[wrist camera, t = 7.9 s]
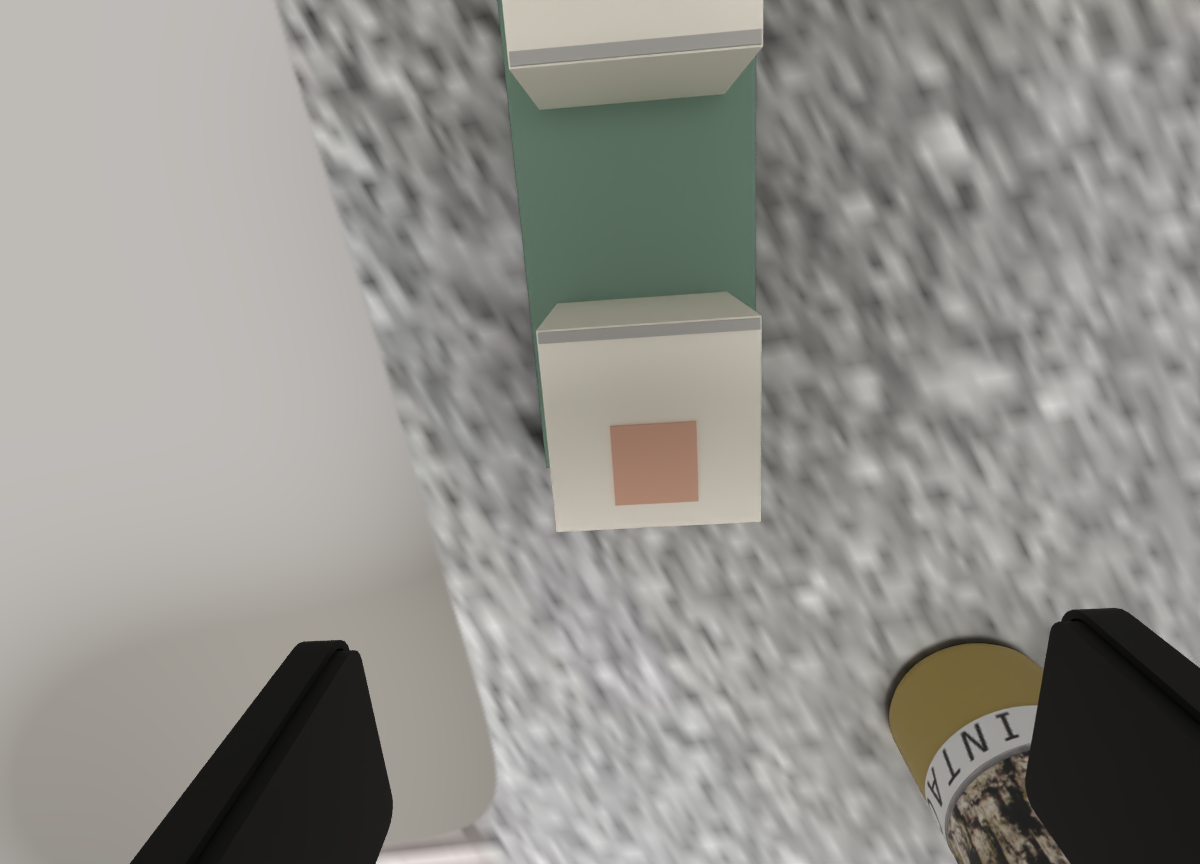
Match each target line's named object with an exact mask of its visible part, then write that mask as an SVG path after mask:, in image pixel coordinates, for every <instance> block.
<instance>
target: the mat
mask: <svg viewBox="0 0 1200 864" xmlns="http://www.w3.org/2000/svg"><path fill="white" fill-rule="evenodd" d="M497 1H498V11H499V20H500V30H501V39H502V49H503V58H504V68H505V78H506V87H507V97H508V106H509V116H510V125H511V135H512V144H513V154H514V163H515V173H516V182H517V192H518V201H519V211H520V221H521V230H522V240H523V249H524V259H525V268H526V278H527V287H528V297H529V306H530V316H531V325H532V335H533V344H534V354H535V363H536V373H537V383H538V392H539V402H540V411H541V421H542V430H543V440H544V449H545V459H546V468H550V462H549V453H548V443H547V433H546V423H545V414H544V404H543V394H542V385H541V375H540V365H539V355H538V346H537V336H536V330H537V329H538V327H539V326H540V325H541V324H542V322H543V321H544V320H545V318H546V317H547V316H548V315H549V313H550V312H551V311H552V309H553V308H554V307H555V306H556V304H557V303H569V302H584V301H598V300H612V299H627V298H641V297H655V296H670V295H684V294H699V293H713V292H728V293H730V294H731V295H733V296H734V297H735V298H737V299H738V300H740V301H741V302H743V303H744V304H746V305H747V306H749V307H750V308H752V309H753V310H754V311H755V266H756V56H755V57H754V58H753V60H752V61H751V62H750V63H749V65H748V66H747V67H746V68H745V69H744V71H743V72H742V73H741V74H740V76H739V77H738V78H737V79H736V81H735V82H734V83H733V84H732V85H731V87H730V88H729V89H728V90H727V92H726V93H725V94H720V95H708V96H696V97H685V98H673V99H662V100H650V101H638V102H627V103H615V104H603V105H592V106H580V107H568V108H557V109H545V110H539V109H538V107H537V106H536V105H535V103H534V102H533V101H532V99H531V98H530V97H529V95H528V94H527V93H526V91H525V90H524V89H523V87H522V86H521V85H520V83H519V82H518V81H517V79H516V78H515V77H514V75H513V74H512V73H511V71H510V70H509V64H508V55H507V45H506V35H505V26H504V16H503V6H502V0H497Z"/></svg>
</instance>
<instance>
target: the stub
mask: <svg viewBox="0 0 1200 864" xmlns="http://www.w3.org/2000/svg"><path fill="white" fill-rule="evenodd" d="M536 336H537V346H538V355H539V365H540V375H541V385H542V394H543V404H544V414H545V423H546V433H547V443H548V453H549V462H550V472H551V482H552V491H553V501H554V511H555V520H556V530H557V532H568V531H588V530H607V529H627V528H647V527H667V526H686V525H706V524H726V523H745V522H761V363H762V315H760V314H759V313H757V312H756V311H754V310H753V309H752V308H750V307H749V306H747V305H746V304H744V303H743V302H741V301H740V300H738V299H737V298H735V297H734V296H733V295H731V294H730V293H728V292H713V293H699V294H684V295H670V296H655V297H641V298H627V299H612V300H598V301H584V302H569V303H557V304H556V306H555V307H554V308H553V309H552V311H551V312H550V313H549V315H548V316H547V317H546V318H545V320H544V321H543V322H542V324H541V325H540V326H539V327H538V329H537V330H536Z"/></svg>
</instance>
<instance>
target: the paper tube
mask: <svg viewBox="0 0 1200 864" xmlns="http://www.w3.org/2000/svg"><path fill="white" fill-rule="evenodd" d="M1042 677H1043V669H1042V668H1041V667H1039V666H1038V665H1037V664H1036V663H1035V662H1034V661H1032V660H1031V659H1030V658H1028V657H1027V656H1025V655H1023V654H1022V653H1020V652H1018V651H1015V650H1013V649H1010V648H1007V647H1003V646H998V645H992V644H985V643H969V644H961V645H956V646H951V647H948V648H945V649H942V650H940V651H937V652H935V653H933V654H931V655H929V656H927V657H926V658H924V659H923V660H921V661H920V662H918V663H917V664H916V665H915V666H914V667H912V668H911V669H910V670H909V671H908V672H907V674H906V675H905V676H904V677H903V678H902V680H901V681H900V683H899V685H898V686H897V688H896V690H895V693H894V696H893V699H892V702H891V706H890V711H889V724H890V729H891V733H892V736H893V738H894V741H895V743H896V745H897V747H898V749H899V751H900V753H901V754H902V756H903V758H904V760H905V762H906V764H907V766H908V768H909V770H910V772H911V774H912V776H913V777H914V779H915V781H916V783H917V785H918V787H919V789H920V791H921V793H922V795H923V797H924V798H925V800H926V802H927V804H928V807H929V809H930V811H931V813H932V815H933V817H934V819H935V821H936V823H937V825H938V827H939V829H940V831H941V832H942V834H943V836H944V838H945V840H946V842H947V844H948V846H949V848H950V850H951V852H952V854H953V855H954V857H955V859H956V861H957V863H958V864H1070V863H1069V861H1068V860H1067V858H1066V857H1065V855H1064V854H1063V853H1062V851H1061V850H1060V848H1059V847H1058V845H1057V844H1056V842H1055V841H1054V840H1053V838H1052V837H1051V835H1050V834H1049V832H1048V831H1047V829H1046V828H1045V827H1044V825H1043V824H1042V822H1041V821H1040V819H1039V818H1038V817H1037V815H1036V814H1035V812H1034V810H1033V809H1032V807H1031V805H1030V802H1029V800H1028V797H1027V793H1026V788H1025V776H1026V770H1027V764H1028V758H1029V752H1030V747H1031V741H1032V735H1033V729H1034V723H1035V718H1036V712H1037V706H1038V700H1039V694H1040V688H1041V683H1042Z"/></svg>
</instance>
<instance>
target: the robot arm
mask: <svg viewBox="0 0 1200 864" xmlns="http://www.w3.org/2000/svg"><path fill="white" fill-rule="evenodd" d="M1025 788H1026V793H1027V797H1028V800H1029V802H1030V805H1031V807H1032V809H1033V810H1034V812H1035V814H1036V815H1037V817H1038V818H1039V819H1040V821H1041V822H1042V824H1043V825H1044V827H1045V828H1046V829H1047V831H1048V832H1049V834H1050V835H1051V837H1052V838H1053V840H1054V841H1055V842H1056V844H1057V845H1058V847H1059V848H1060V850H1061V851H1062V853H1063V854H1064V855H1065V857H1066V858H1067V860H1068V861H1069V863H1070V864H1200V668H1199V667H1198V666H1196V665H1195V664H1194V663H1193V662H1191V661H1190V660H1189V659H1187V658H1186V657H1185V656H1184V655H1182V654H1181V653H1180V652H1178V651H1177V650H1176V649H1175V648H1173V647H1172V646H1171V645H1170V644H1168V643H1167V642H1166V641H1164V640H1163V639H1162V638H1161V637H1159V636H1158V635H1157V634H1155V633H1154V632H1153V631H1152V630H1150V629H1149V628H1148V627H1146V626H1145V625H1144V624H1143V623H1141V622H1140V621H1139V620H1138V619H1136V618H1135V617H1134V616H1132V615H1131V614H1130V613H1128V612H1126V611H1124V610H1123V609H1118V608H1104V609H1080V610H1071V611H1068V612H1067V613H1066V614H1065V615H1064V616H1063V618H1062V621H1061V622H1057V623H1055V624H1054V625H1053V626H1052V628H1051V631H1050V636H1049V642H1048V648H1047V653H1046V659H1045V665H1044V671H1043V677H1042V683H1041V688H1040V694H1039V700H1038V706H1037V712H1036V718H1035V723H1034V729H1033V735H1032V741H1031V747H1030V752H1029V758H1028V764H1027V770H1026V776H1025ZM392 810H393V800H392V794H391V789H390V785H389V780H388V776H387V771H386V767H385V762H384V758H383V753H382V749H381V744H380V740H379V735H378V731H377V726H376V722H375V717H374V713H373V708H372V704H371V699H370V695H369V690H368V686H367V681H366V677H365V672H364V668H363V663H362V659H361V657H360V654H359V653H358V651H355V650H352V651H351V650H349V647H348V645H347V644H346V643H345V641H342V640H331V641H308V642H301V643H299V644H298V645H297V646H295V647H294V649H293V650H292V651H291V653H290V654H289V655H288V656H287V658H286V659H285V661H284V662H283V663H282V664H281V666H280V667H279V668H278V670H277V671H276V672H275V674H274V675H273V676H272V677H271V679H270V680H269V681H268V683H267V684H266V685H265V687H264V688H263V689H262V691H261V692H260V693H259V695H258V696H257V697H256V698H255V700H254V701H253V703H252V704H251V705H250V706H249V708H248V709H247V710H246V712H245V713H244V714H243V716H242V717H241V718H240V720H239V721H238V722H237V724H236V725H235V726H234V728H233V729H232V730H231V731H230V733H229V734H228V735H227V737H226V738H225V739H224V741H223V742H222V743H221V745H220V746H219V747H218V748H217V750H216V751H215V753H214V754H213V755H212V757H211V758H210V759H209V760H208V762H207V763H206V764H205V766H204V767H203V768H202V769H201V771H200V772H199V773H198V775H197V776H196V777H195V779H194V780H193V781H192V783H191V784H190V785H189V787H188V788H187V789H186V791H185V792H184V793H183V794H182V796H181V797H180V798H179V800H178V801H177V802H176V804H175V805H174V806H173V808H172V809H171V810H170V811H169V813H168V814H167V815H166V817H165V818H164V819H163V821H162V822H161V823H160V825H159V826H158V827H157V829H156V830H155V831H154V832H153V834H152V835H151V836H150V838H149V839H148V841H147V842H146V843H145V844H144V846H143V847H142V848H141V850H140V851H139V852H138V854H137V855H136V856H135V857H134V859H133V860H132V861H131V863H130V864H376V861H377V858H378V856H379V853H380V851H381V848H382V845H383V843H384V840H385V837H386V835H387V832H388V830H389V826H390V823H391V818H392Z"/></svg>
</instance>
